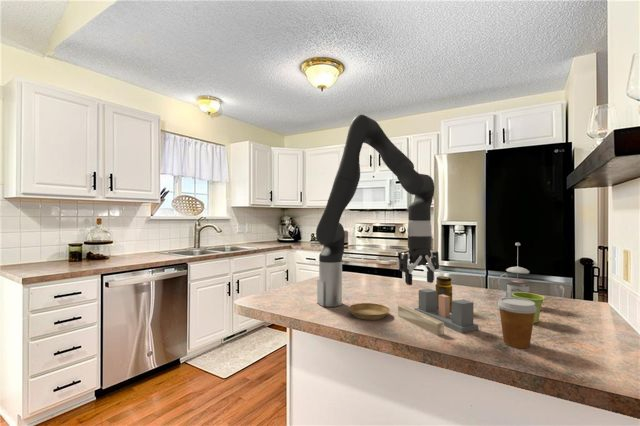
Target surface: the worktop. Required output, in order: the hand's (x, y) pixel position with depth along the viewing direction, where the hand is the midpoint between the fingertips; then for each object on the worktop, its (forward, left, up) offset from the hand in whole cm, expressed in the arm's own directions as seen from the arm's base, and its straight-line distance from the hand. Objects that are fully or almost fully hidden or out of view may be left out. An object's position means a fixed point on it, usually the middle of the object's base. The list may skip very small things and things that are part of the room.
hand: (419, 283), depth 107 cm
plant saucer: (-10, +15, -14) cm, 23 cm away
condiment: (+20, +11, -14) cm, 27 cm away
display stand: (+10, 0, -14) cm, 17 cm away
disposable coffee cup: (+15, -23, -14) cm, 31 cm away
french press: (+51, +4, -14) cm, 53 cm away
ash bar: (0, 0, -14) cm, 14 cm away
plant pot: (+37, -11, -14) cm, 41 cm away
